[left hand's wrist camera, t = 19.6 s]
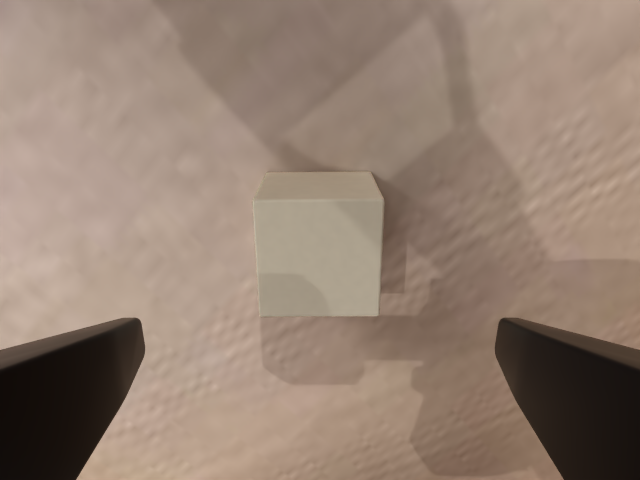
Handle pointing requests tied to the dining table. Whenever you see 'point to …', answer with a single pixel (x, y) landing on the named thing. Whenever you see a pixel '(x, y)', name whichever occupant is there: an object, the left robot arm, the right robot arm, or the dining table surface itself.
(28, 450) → the left robot arm
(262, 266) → the block
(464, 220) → the dining table surface
